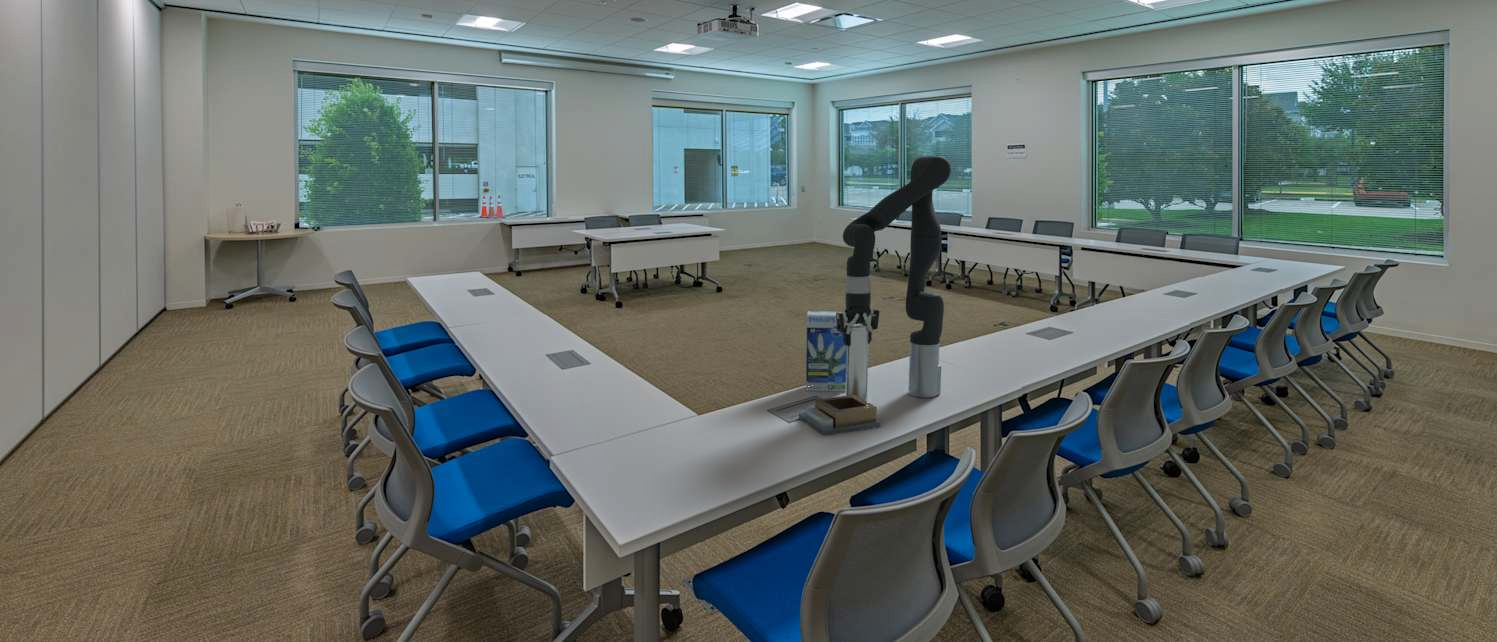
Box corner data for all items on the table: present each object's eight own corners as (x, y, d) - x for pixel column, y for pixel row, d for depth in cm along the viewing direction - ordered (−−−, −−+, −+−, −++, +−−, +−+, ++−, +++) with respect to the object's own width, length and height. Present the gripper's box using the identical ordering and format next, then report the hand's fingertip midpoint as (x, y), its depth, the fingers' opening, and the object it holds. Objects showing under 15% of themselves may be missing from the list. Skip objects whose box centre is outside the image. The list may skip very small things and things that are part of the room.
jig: (853, 410, 222) (853, 393, 221) (880, 426, 207) (880, 408, 206) (799, 418, 216) (799, 400, 215) (823, 435, 201) (823, 416, 200)
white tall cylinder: (866, 407, 224) (868, 328, 219) (845, 406, 226) (846, 327, 221) (867, 401, 231) (868, 323, 226) (846, 400, 232) (847, 323, 227)
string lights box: (806, 391, 242) (806, 315, 237) (806, 385, 250) (806, 310, 245) (846, 392, 241) (847, 315, 236) (845, 385, 248) (846, 310, 243)
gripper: (872, 287, 227) (871, 339, 230) (831, 290, 222) (830, 344, 225) (885, 290, 220) (884, 344, 223) (842, 294, 215) (842, 349, 218)
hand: (857, 344), depth 224 cm, fingers closed on white tall cylinder, 6 cm apart
